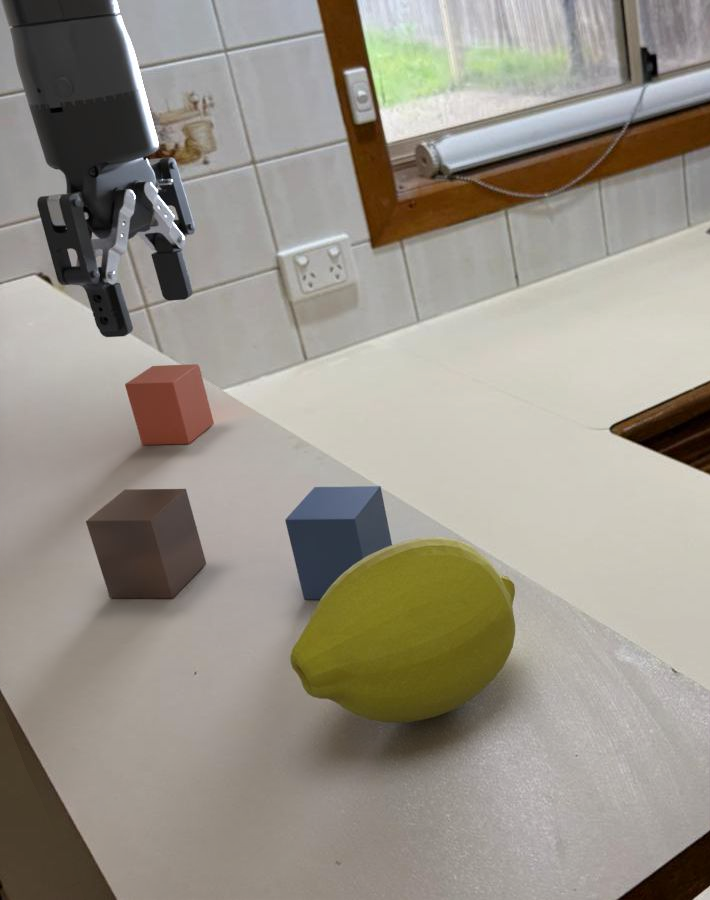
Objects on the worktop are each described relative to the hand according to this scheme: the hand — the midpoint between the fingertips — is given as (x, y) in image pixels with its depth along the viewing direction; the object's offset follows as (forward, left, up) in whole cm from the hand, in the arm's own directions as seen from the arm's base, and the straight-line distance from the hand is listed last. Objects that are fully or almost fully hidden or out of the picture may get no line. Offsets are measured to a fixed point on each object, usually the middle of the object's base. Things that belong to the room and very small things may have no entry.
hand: (149, 316), depth 85 cm
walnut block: (+11, -22, -10) cm, 26 cm away
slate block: (+23, -22, -10) cm, 33 cm away
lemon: (+31, -33, -10) cm, 46 cm away
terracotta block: (0, 0, -10) cm, 10 cm away
